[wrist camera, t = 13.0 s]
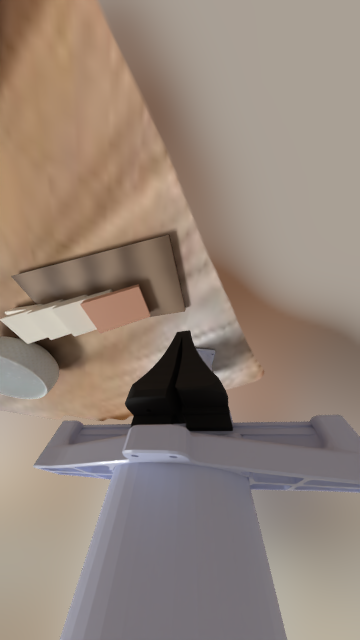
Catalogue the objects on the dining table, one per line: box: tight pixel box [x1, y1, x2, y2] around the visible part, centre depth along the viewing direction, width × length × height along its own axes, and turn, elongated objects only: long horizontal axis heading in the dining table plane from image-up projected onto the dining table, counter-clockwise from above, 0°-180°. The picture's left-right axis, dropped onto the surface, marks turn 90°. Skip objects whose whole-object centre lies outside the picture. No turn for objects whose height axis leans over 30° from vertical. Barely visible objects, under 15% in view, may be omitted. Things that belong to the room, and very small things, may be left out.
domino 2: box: [0, 299, 64, 344], centre depth 22 cm, size 2×5×8 cm
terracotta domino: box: [80, 284, 150, 333], centre depth 20 cm, size 2×5×8 cm
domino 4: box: [51, 289, 113, 337], centre depth 20 cm, size 2×5×8 cm
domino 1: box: [4, 304, 43, 315], centre depth 24 cm, size 2×5×8 cm
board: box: [11, 235, 185, 317], centre depth 21 cm, size 26×11×1 cm, turn 102°
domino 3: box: [26, 294, 87, 340], centre depth 21 cm, size 2×5×8 cm
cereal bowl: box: [0, 336, 59, 399], centre depth 29 cm, size 17×17×7 cm
